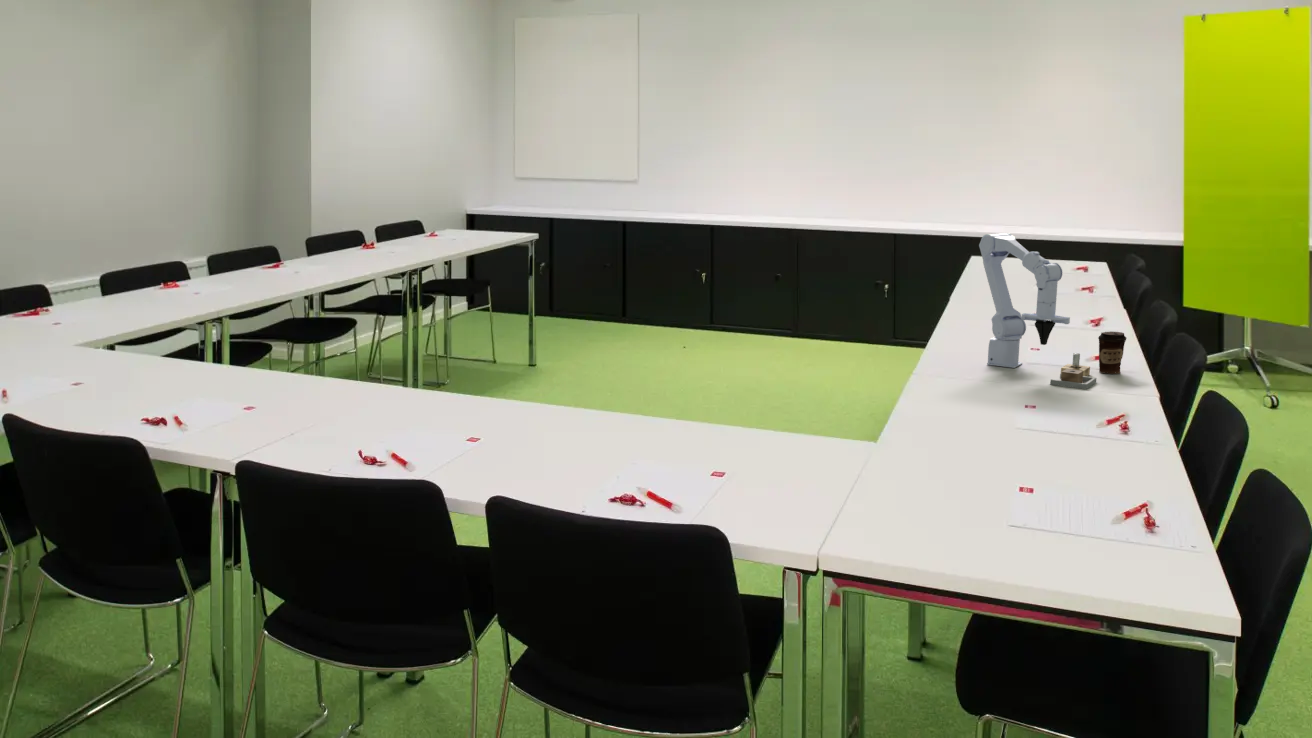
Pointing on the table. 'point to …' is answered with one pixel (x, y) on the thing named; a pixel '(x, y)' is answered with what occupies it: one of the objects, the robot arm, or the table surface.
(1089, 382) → the grey arch piece
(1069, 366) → the oak block
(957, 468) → the table surface
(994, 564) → the table surface
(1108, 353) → the coffee cup
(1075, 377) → the walnut block
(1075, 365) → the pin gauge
